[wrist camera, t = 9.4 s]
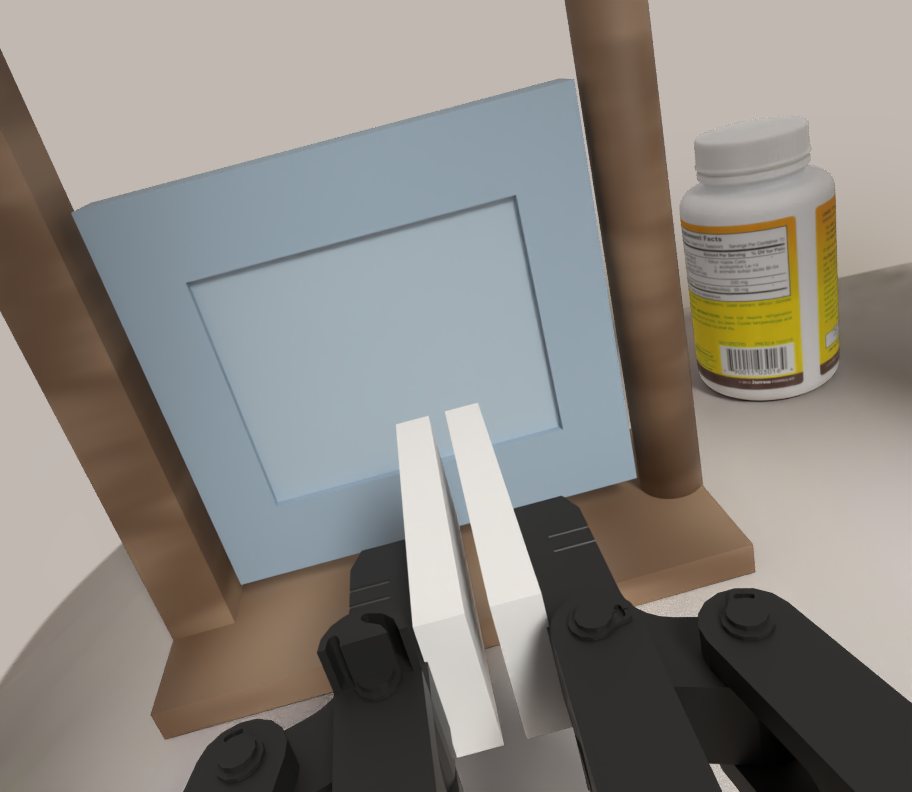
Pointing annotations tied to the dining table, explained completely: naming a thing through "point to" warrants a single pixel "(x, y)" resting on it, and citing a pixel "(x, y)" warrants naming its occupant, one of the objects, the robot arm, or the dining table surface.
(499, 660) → the dining table surface
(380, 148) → the panel
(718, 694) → the robot arm
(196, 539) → the gate frame
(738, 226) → the supplement bottle
